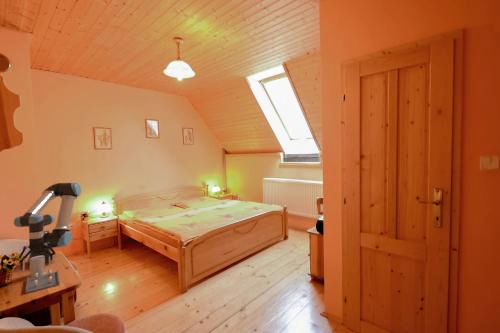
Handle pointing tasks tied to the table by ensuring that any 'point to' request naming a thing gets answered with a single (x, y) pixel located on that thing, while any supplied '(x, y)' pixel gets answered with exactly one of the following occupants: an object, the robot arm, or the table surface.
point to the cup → (37, 266)
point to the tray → (42, 282)
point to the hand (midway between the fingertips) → (37, 267)
